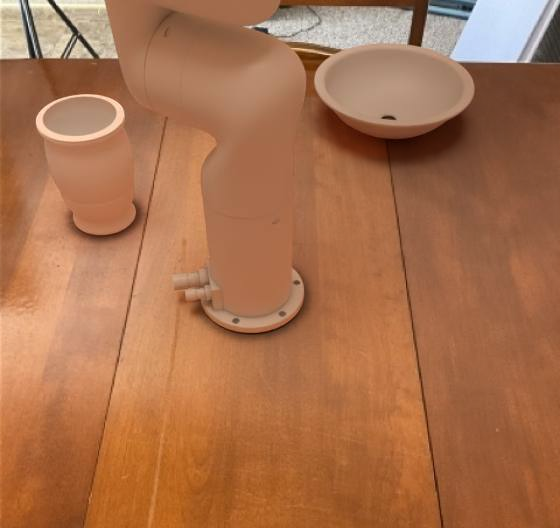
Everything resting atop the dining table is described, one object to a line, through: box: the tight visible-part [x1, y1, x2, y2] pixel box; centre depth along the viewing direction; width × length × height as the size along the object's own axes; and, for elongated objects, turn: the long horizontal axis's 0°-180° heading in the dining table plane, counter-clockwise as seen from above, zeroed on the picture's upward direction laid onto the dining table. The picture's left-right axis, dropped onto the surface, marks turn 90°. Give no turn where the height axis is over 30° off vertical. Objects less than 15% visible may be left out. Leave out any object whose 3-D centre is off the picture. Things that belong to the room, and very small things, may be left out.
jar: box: [35, 93, 137, 236], centre depth 87 cm, size 11×10×15 cm
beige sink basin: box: [313, 42, 475, 140], centre depth 105 cm, size 24×24×7 cm
